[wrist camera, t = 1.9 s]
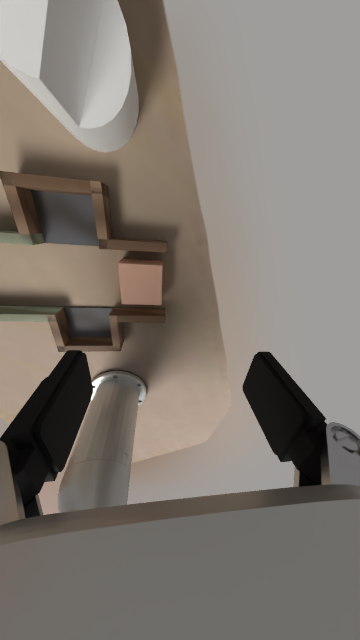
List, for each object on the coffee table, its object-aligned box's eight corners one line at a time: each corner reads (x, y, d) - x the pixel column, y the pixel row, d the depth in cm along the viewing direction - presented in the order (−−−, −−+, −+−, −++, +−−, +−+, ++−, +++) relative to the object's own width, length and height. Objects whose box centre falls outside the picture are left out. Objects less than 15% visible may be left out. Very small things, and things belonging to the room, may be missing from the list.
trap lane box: (163, 341, 35) (163, 350, 32) (1, 341, 31) (-14, 352, 29) (167, 192, 23) (169, 188, 21) (-90, 166, 20) (-128, 157, 17)
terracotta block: (161, 295, 31) (161, 305, 27) (126, 294, 30) (121, 304, 26) (162, 260, 28) (162, 265, 24) (123, 258, 27) (117, 263, 24)
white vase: (123, 170, 22) (90, 120, 11) (42, 118, 19) (-98, -9, 9) (151, 73, 18) (142, -124, 8) (58, -6, 16) (-144, -470, 5)
